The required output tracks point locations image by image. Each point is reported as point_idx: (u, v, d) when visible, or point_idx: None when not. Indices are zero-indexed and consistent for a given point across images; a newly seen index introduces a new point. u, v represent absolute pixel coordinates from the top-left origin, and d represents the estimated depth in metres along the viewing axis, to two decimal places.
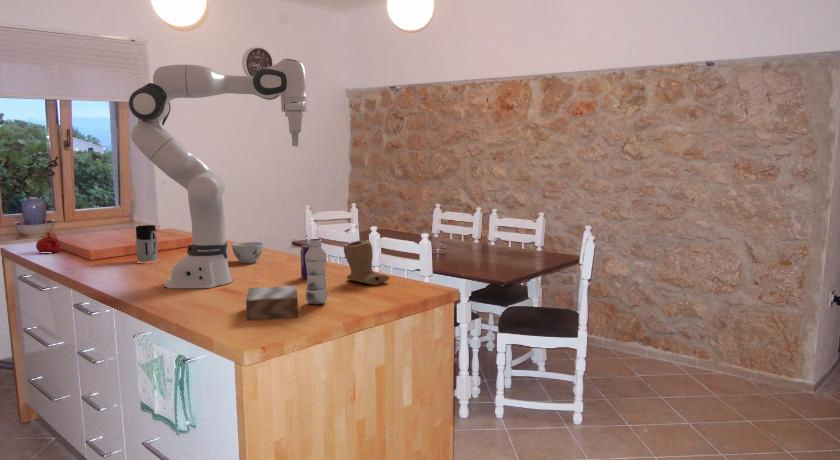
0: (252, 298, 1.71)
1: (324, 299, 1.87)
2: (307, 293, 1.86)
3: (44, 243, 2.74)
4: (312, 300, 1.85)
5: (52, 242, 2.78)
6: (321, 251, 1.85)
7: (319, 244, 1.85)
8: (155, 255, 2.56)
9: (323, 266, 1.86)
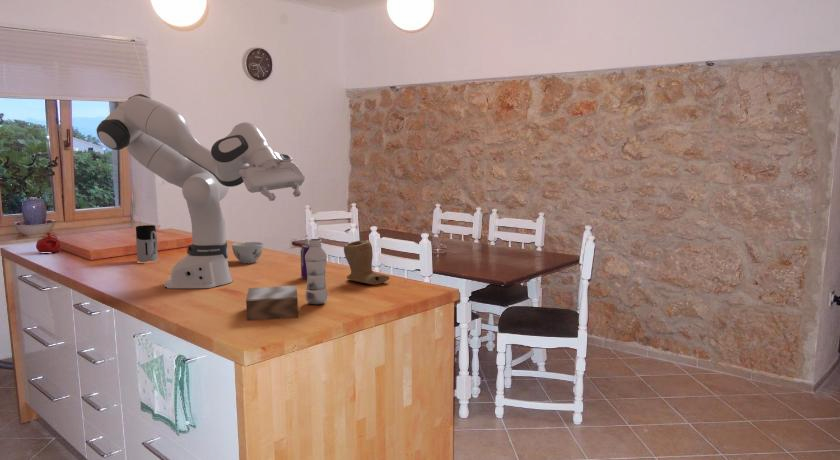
0: (252, 298, 1.71)
1: (324, 299, 1.87)
2: (307, 293, 1.86)
3: (44, 243, 2.74)
4: (312, 300, 1.85)
5: (52, 242, 2.78)
6: (321, 251, 1.85)
7: (319, 244, 1.85)
8: (155, 255, 2.56)
9: (323, 266, 1.86)
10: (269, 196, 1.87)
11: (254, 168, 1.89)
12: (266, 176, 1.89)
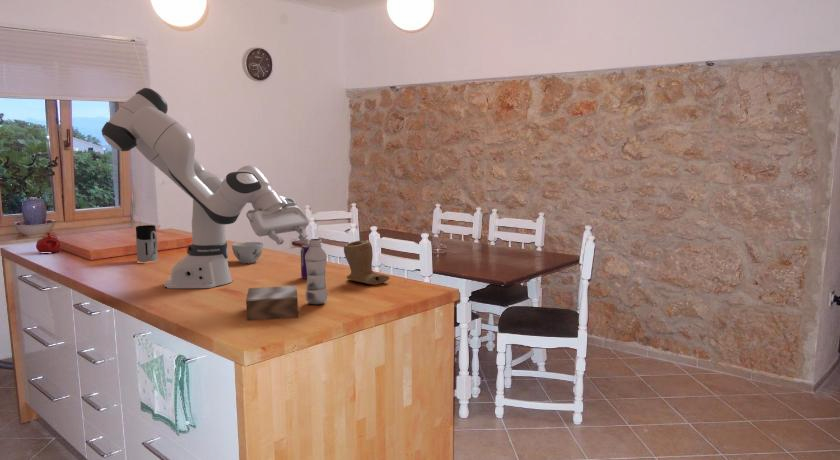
0: (252, 298, 1.71)
1: (324, 299, 1.87)
2: (307, 293, 1.86)
3: (44, 243, 2.74)
4: (312, 300, 1.85)
5: (52, 242, 2.78)
6: (321, 251, 1.85)
7: (319, 244, 1.85)
8: (155, 255, 2.56)
9: (323, 266, 1.86)
10: (277, 240, 1.86)
11: (261, 212, 1.88)
12: (274, 220, 1.89)
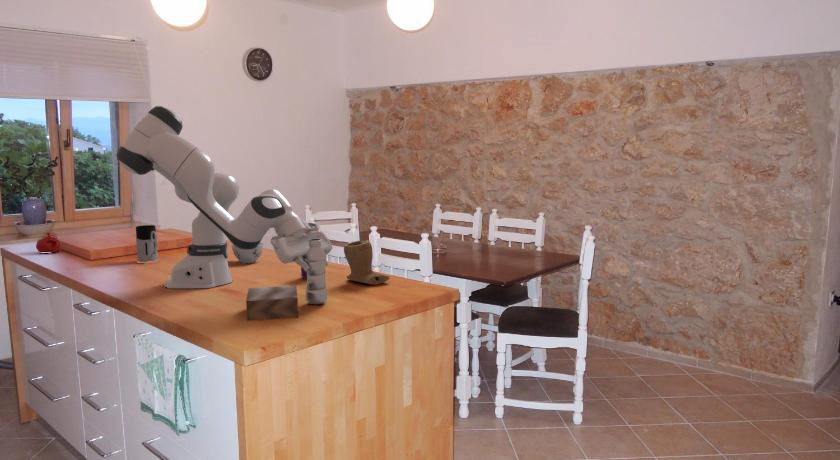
0: (252, 298, 1.71)
1: (324, 299, 1.87)
2: (307, 293, 1.86)
3: (44, 243, 2.74)
4: (312, 300, 1.85)
5: (52, 242, 2.78)
6: (321, 251, 1.85)
7: (319, 244, 1.85)
8: (155, 255, 2.56)
9: (323, 266, 1.86)
10: (305, 266, 1.84)
11: (286, 238, 1.84)
12: (298, 247, 1.85)
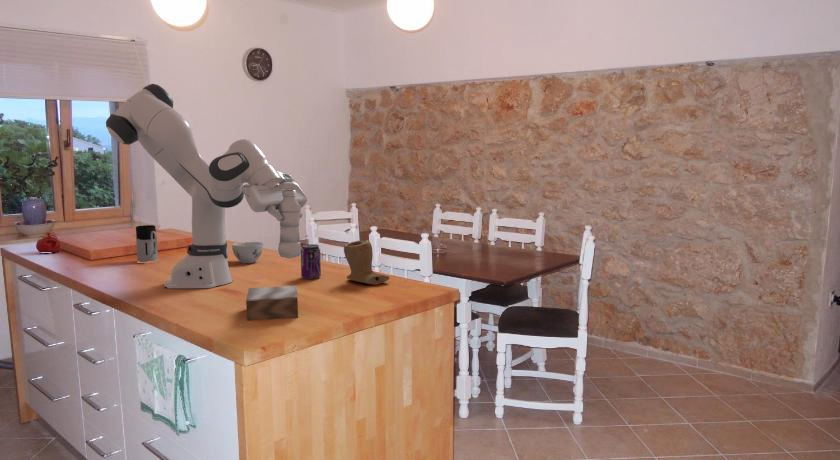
0: (252, 298, 1.71)
1: (297, 252, 1.79)
2: (280, 246, 1.78)
3: (44, 243, 2.74)
4: (285, 253, 1.78)
5: (52, 242, 2.78)
6: (295, 202, 1.78)
7: (293, 195, 1.77)
8: (155, 255, 2.56)
9: (297, 218, 1.78)
10: (278, 216, 1.76)
11: (258, 186, 1.77)
12: (271, 196, 1.77)
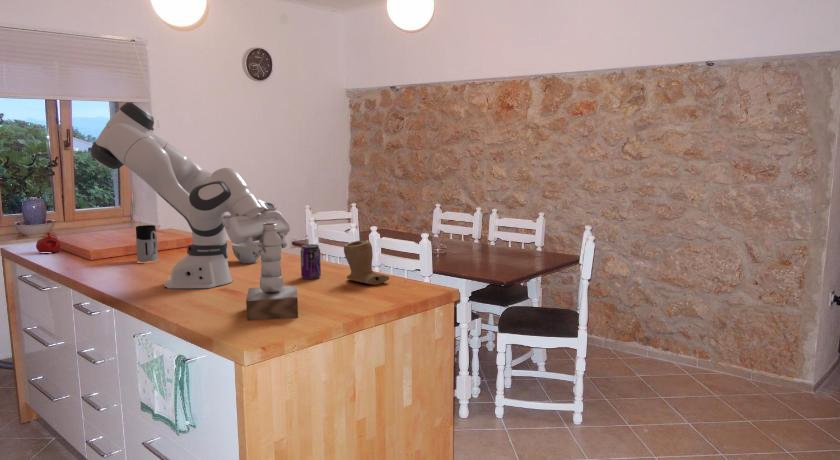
0: (252, 298, 1.71)
1: (279, 287, 1.76)
2: (261, 280, 1.76)
3: (44, 243, 2.74)
4: (266, 287, 1.75)
5: (52, 242, 2.78)
6: (276, 236, 1.75)
7: (273, 228, 1.75)
8: (155, 255, 2.56)
9: (278, 252, 1.75)
10: (255, 248, 1.72)
11: (238, 217, 1.74)
12: (251, 226, 1.74)
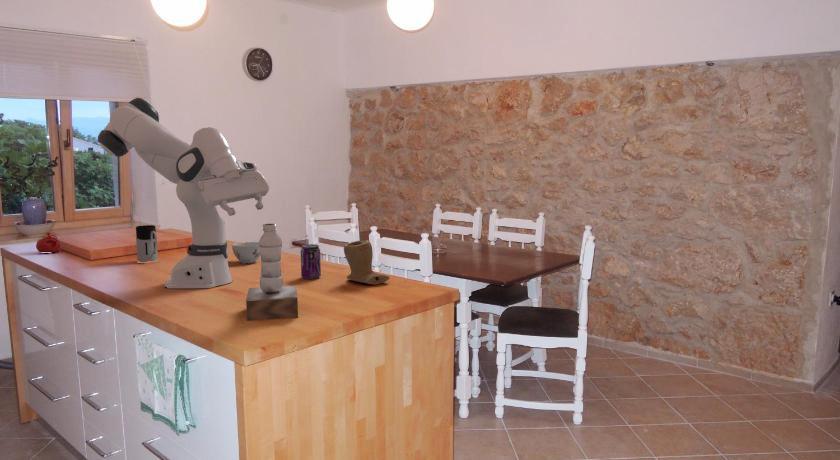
0: (252, 298, 1.71)
1: (279, 287, 1.76)
2: (261, 281, 1.76)
3: (44, 243, 2.74)
4: (266, 288, 1.75)
5: (52, 242, 2.78)
6: (275, 236, 1.75)
7: (273, 229, 1.75)
8: (155, 255, 2.56)
9: (278, 252, 1.75)
10: (228, 211, 1.78)
11: (214, 180, 1.79)
12: (226, 189, 1.80)
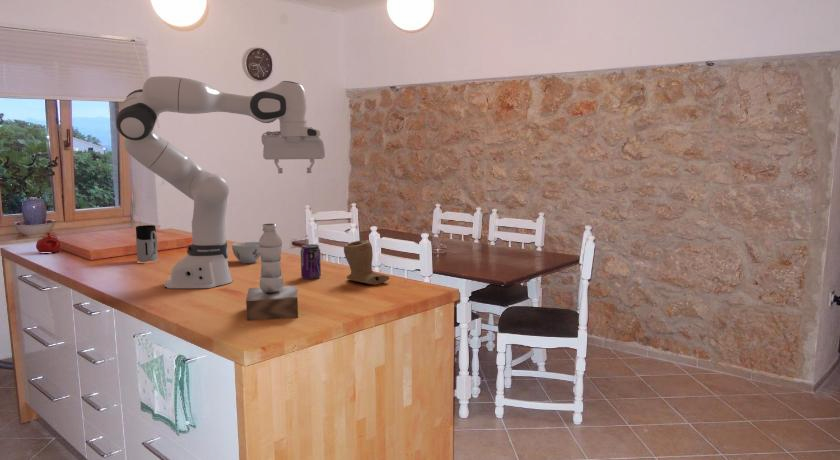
0: (252, 298, 1.71)
1: (279, 287, 1.76)
2: (261, 281, 1.76)
3: (44, 243, 2.74)
4: (266, 288, 1.75)
5: (52, 242, 2.78)
6: (275, 236, 1.75)
7: (273, 229, 1.75)
8: (155, 255, 2.56)
9: (278, 252, 1.75)
10: (278, 169, 2.04)
11: (275, 139, 2.01)
12: (282, 150, 2.02)
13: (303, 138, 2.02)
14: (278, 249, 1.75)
